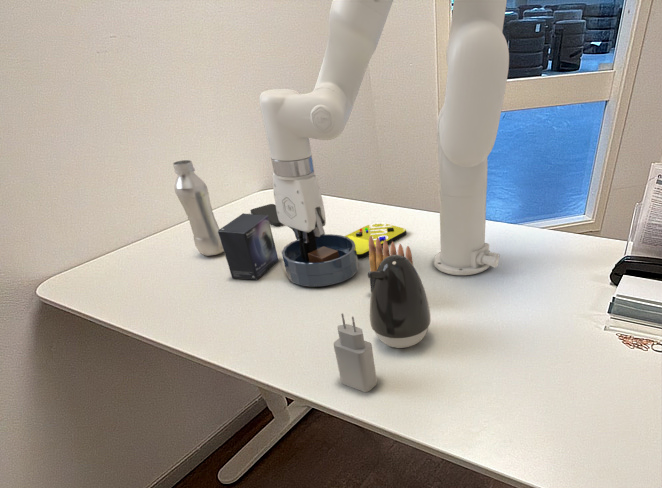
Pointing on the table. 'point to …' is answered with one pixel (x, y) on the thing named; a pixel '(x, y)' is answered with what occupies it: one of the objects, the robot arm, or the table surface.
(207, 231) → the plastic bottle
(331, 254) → the block
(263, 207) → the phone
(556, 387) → the table surface
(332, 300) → the table surface
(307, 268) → the bowl
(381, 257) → the ammunition clip
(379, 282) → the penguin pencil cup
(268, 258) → the small box
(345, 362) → the power adapter
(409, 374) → the table surface
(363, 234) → the yellow toy board
